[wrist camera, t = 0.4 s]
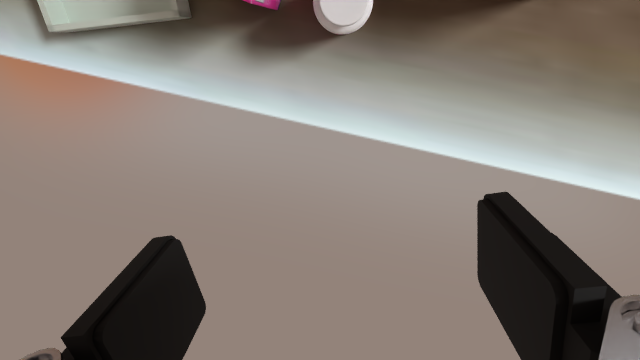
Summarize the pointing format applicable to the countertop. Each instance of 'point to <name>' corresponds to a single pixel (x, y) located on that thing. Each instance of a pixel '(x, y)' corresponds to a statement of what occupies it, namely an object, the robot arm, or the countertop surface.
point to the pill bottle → (342, 14)
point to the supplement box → (266, 3)
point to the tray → (109, 13)
